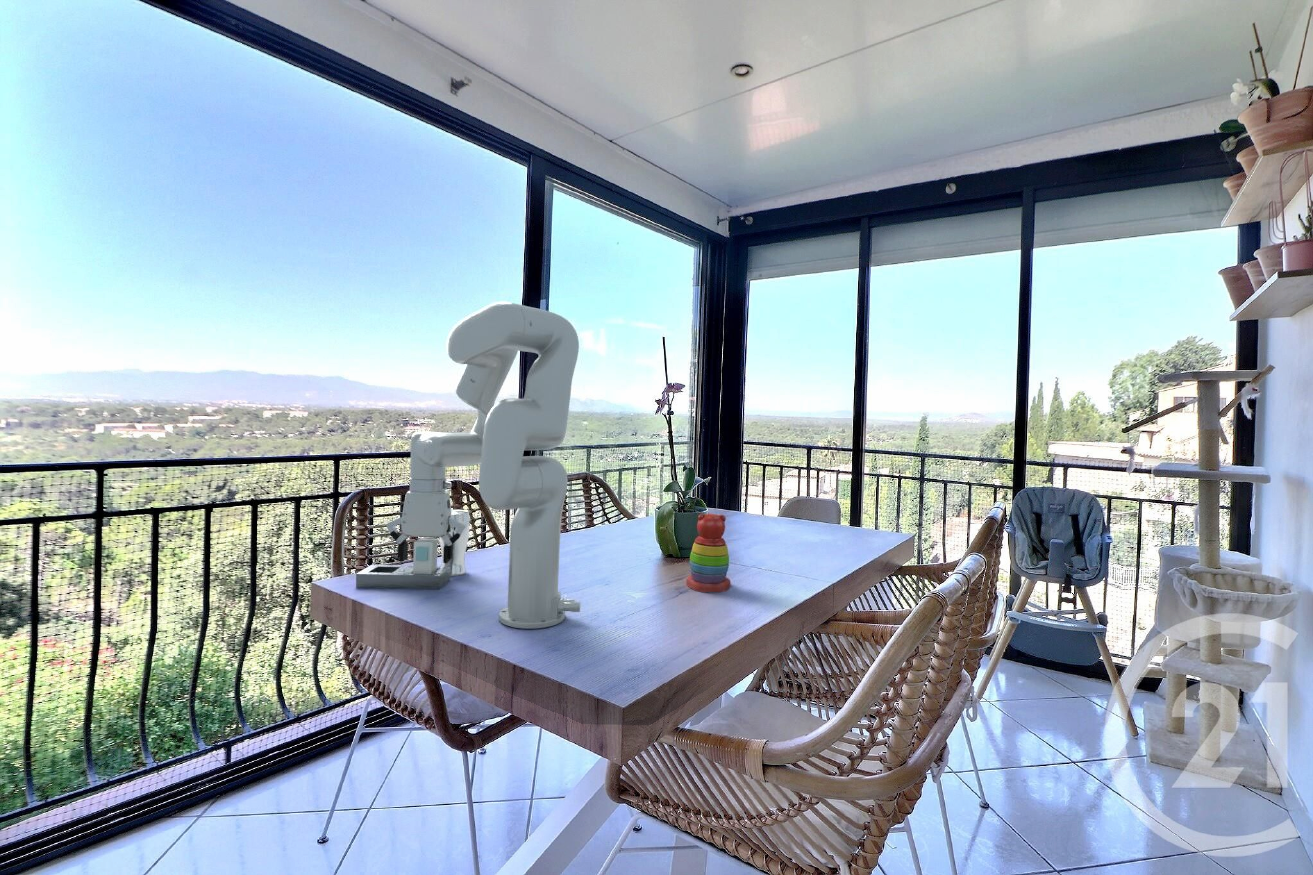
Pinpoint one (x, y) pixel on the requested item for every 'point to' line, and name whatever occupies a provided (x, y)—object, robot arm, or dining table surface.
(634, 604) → the dining table surface
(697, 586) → the stacking bear
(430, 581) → the panel
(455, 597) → the dining table surface
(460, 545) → the beer glass
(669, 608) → the dining table surface
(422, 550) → the plug
